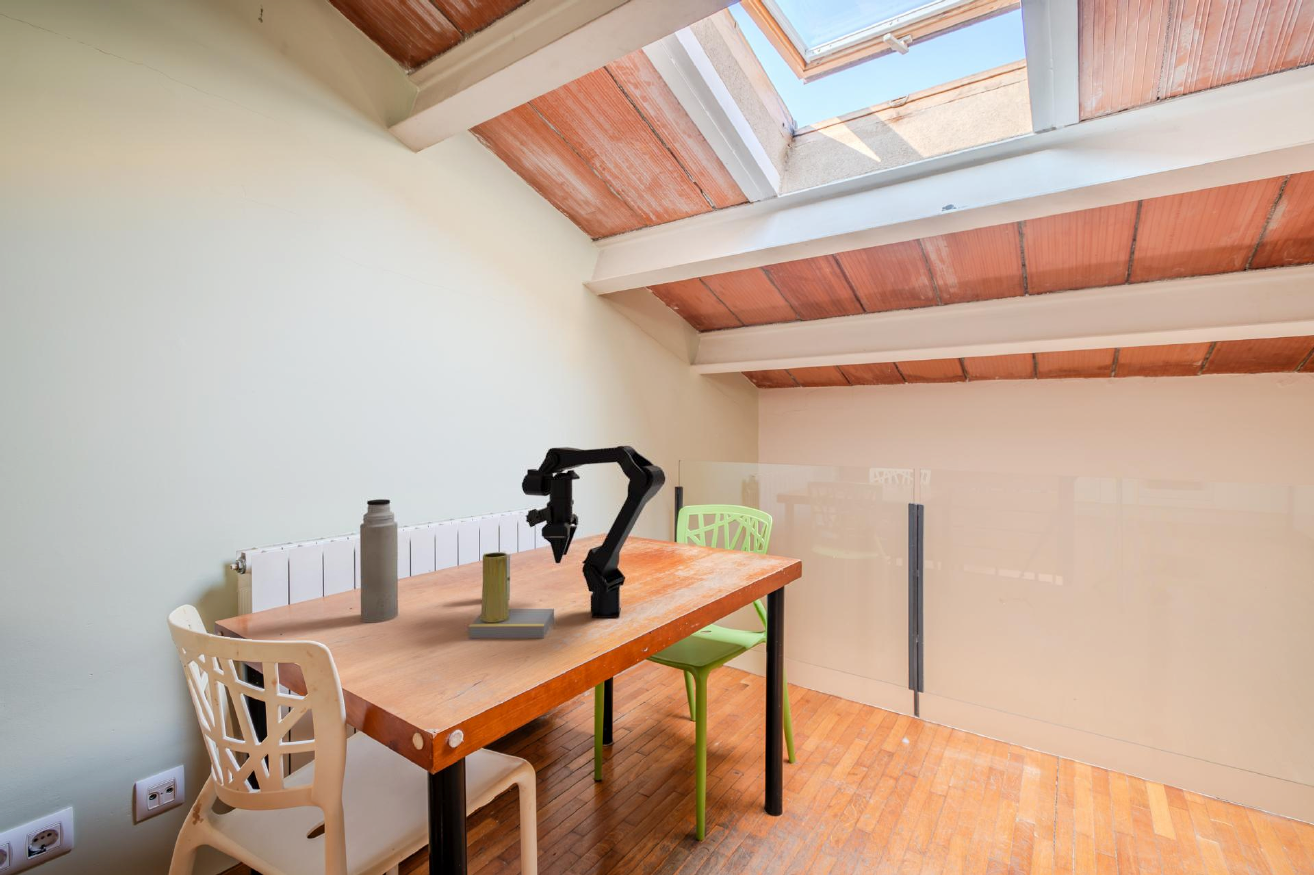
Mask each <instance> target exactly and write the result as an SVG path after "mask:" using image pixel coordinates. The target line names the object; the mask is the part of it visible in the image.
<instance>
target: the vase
mask: <svg viewBox="0 0 1314 875" xmlns="http://www.w3.org/2000/svg"><path fill="white" fill-rule="evenodd" d="M494 552H495V553H493V552H486V553H487V554H485V553H483V555H482V588H481V589H482V590H481V591H482V592H481V611H480V612H481V613H480V615H481V620H482V621H483V622H486V623H498V622H502V621H505V620H507V619H508V618H509V609H510V608H509V607H510V606H509V605H510V604H509V600H508V585H507V554H506V553H501V552H502V551H499V552H498V551H494Z"/></svg>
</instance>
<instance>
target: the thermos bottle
mask: <svg viewBox="0 0 1314 875" xmlns="http://www.w3.org/2000/svg"><path fill="white" fill-rule="evenodd" d="M390 503H391V500H390V499H385V498H384V499H380V498H379V499H371V500H367V501H366V504H367V505H368V506H367V512H366V513H365V514H363V519H362V521H363V523H361V524H360V525H359V535H360V536H359V537H360V538H359V541H360V542H359V544H360V546H359V547H360V548H359V550H360V555H359V557H360V558H359V559H360V560H359V561H360V564H359V565H360V566H359V568H360V569H359V570H360V621H362V622H364V623H381V622H386V621H389V620H393V619H395V618H397V617H398V616H399V582H398V581H399V578H398V576H399V575H398V572H399V571H398V567H399V566H398V564H399V563H398V562H399V561H398V560H399V559H398V558H399V557H398V553H399V552H398V550H399V547H398V544H399V543H398V541H399V540H398V522H397V521H395V517H396V515H395V513H394V512H392V511H391V505H390Z"/></svg>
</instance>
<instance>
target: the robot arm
mask: <svg viewBox="0 0 1314 875" xmlns="http://www.w3.org/2000/svg"><path fill="white" fill-rule="evenodd" d="M609 463H613V464H614V463H617V464H618V465H619V467H620V468H621V471H622V472H623V474H624V475H625V476H626V478H628V479H629V481H628V485H627V496H626V499H625V500H624V502H623V504H622V506H621V508H620V509H619V511H618V513H617V516H616V518H615V519H614V522H612V525H611V527H610V529H609V530H608V533H607V534H606V537H605V539H604V540H603V542H602V544H601V545H599V546H596V547H593V548H590V549H589V550H588V552H587V556H586V558H585V559H584V560H583V561H582V564H583V566H582V570H581V571H582V573H583V577H584V579H585V583H586V585H587V586H586V587H587V589H588V592H591V594H590V613H591V614H592V615H591V618H620V616H621V611H622V610H621V608H622V607H621V588H620V587H621V586H623V585H624V584H625V582H626V576H625V575H624V573H623V572H622V571H621V570H620V568H618V566H619V563H620V552H621V551H622V548H623V547H624V544H625V543H626V541H627V539H628V538H629V535H630V533H631V531H632V530H633V528H634V526H635V525H636V522H637V520H638V519H639V517H640V515H641V513H642V511H643V509H644V508H645V505H646V504H647V503H648V502H649V501H651V500H652V498H654V496H656V495H657V494H658V492H660V490H661V488H663V486H664V485H665V483H666V482H665V481H666V476H665V472H664V471H663V470H664V469H662V468H661V467H660V466H658V465H654V464H653V462H652V461H650V460H649V459H648V458H646V457H645V456H643V455H641V454H640V453H639V452H638V451H637V450H636V449H635V448H633V447H632V446H630V445H618V446H616V447H605V448H604V447H603V448H592V449H582V448H581V449H580V448H575V447H568V446H567V447H566V446H564V447H551V448H548V450H547V452H546V453H545V458H544V459H543V461H542V463H541V465H540V466H539V468H537V469H536V468H530V469H529V468H528V469H527V470H526V471H527V473H526V475H525V476H524V477H523V480H522V482H521V488H522V491H523V493H524V494H525V495H527V496H536V497H537V496H539V497H548V496H549V497H548V498H549V500H548V501H547V503H546V507H543V508H540V509H537V508H534V509H529V511H528V512H527V514H526V515H525V517H526V518H525V521H526V523H528V526H529V528H532V527H535V526H536V525H539V524H542V523H544V522H545V523H546V524H544V525H543V527H542V528H541V537H542V538H543V539H544V540H546V541H547V542H548V543H550V548H551V550H552V554H553V559H554V562H555V564H561V561H562V559H563V558H564V557H563V556H566V555H567V554H568V551H569V549H570V546H571V544H572V540H573V539H574V536H575V533H576V531H577V529H578V525H579V516H577V514H575V513H573V505H574V501H575V500H574V499H573V481H574V480H580V478H581V477H580V475H579V474H577V473H576V471H575V470H574V469H575V468H580V467H581V466H583V465H584V466H585V465H596V464H609ZM566 470H567V471H566ZM564 471H566V472H564ZM554 474H555V475H554Z"/></svg>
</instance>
